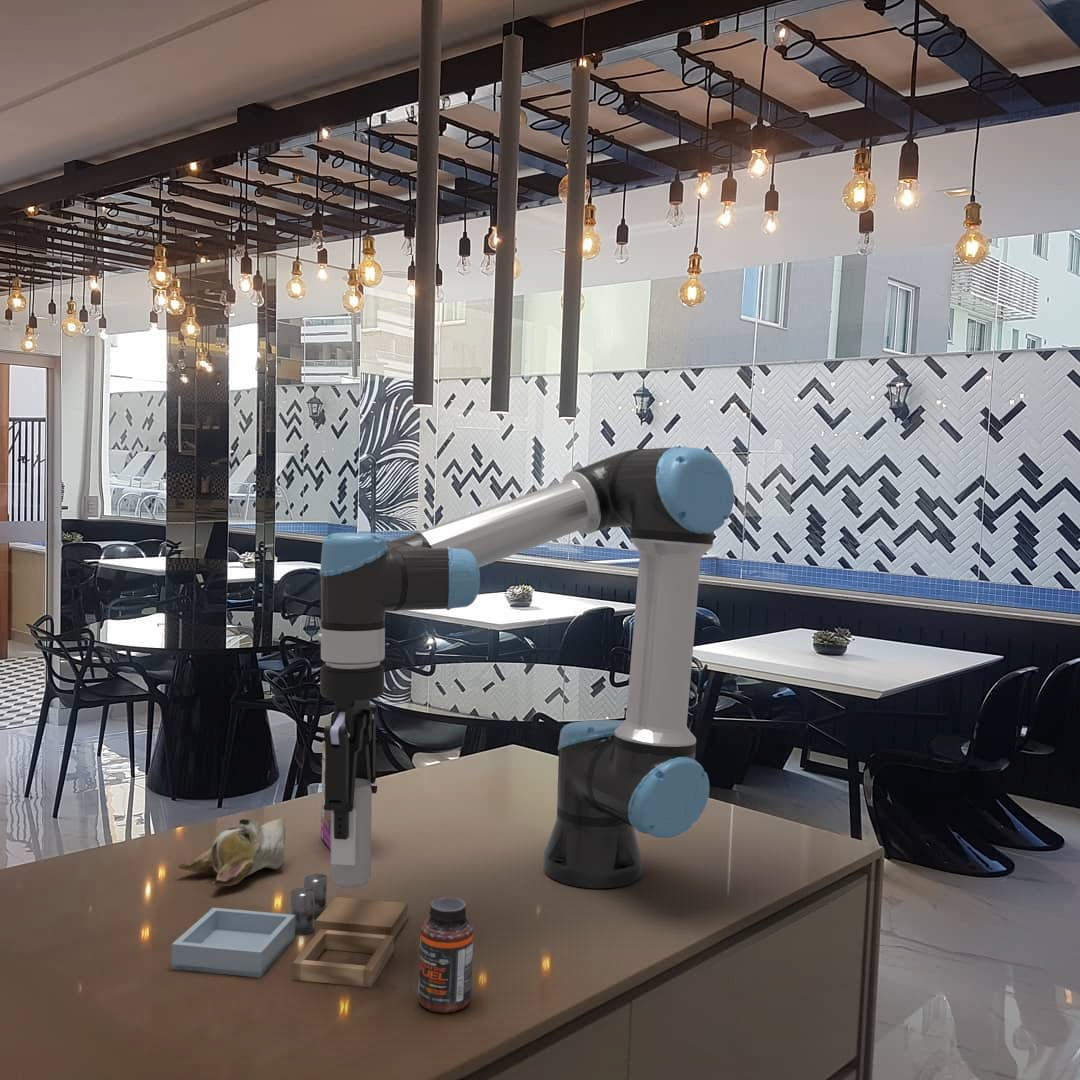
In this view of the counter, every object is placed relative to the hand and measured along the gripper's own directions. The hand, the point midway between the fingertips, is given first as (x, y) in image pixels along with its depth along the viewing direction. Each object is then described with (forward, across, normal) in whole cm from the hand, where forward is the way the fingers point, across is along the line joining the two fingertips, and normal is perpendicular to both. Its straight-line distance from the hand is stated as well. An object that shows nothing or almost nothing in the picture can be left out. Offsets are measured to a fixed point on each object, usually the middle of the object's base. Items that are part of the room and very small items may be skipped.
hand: (350, 854), depth 124 cm
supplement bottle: (+14, +7, +13) cm, 20 cm away
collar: (+13, 0, 0) cm, 13 cm away
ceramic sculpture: (+14, -24, -24) cm, 37 cm away
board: (+14, -11, -2) cm, 18 cm away
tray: (+13, 0, -14) cm, 20 cm away
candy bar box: (+14, -39, -14) cm, 43 cm away
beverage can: (+4, 0, 0) cm, 4 cm away
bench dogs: (+13, -11, -9) cm, 19 cm away
